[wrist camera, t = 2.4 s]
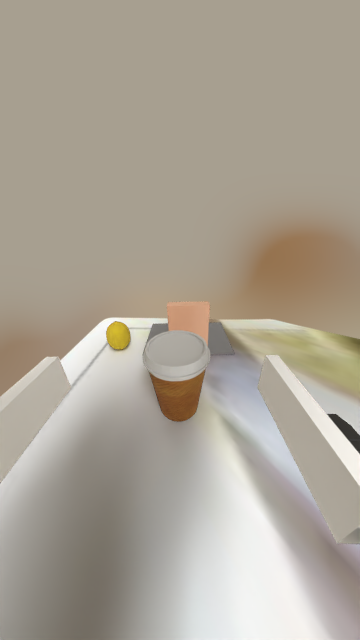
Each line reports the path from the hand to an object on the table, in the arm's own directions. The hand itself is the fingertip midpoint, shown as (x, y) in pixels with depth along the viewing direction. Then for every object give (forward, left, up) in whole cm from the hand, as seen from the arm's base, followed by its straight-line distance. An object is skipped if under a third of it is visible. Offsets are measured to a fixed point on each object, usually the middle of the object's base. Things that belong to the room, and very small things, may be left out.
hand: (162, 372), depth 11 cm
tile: (-2, -22, -18) cm, 28 cm away
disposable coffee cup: (0, -11, -18) cm, 21 cm away
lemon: (+15, -27, -18) cm, 35 cm away
